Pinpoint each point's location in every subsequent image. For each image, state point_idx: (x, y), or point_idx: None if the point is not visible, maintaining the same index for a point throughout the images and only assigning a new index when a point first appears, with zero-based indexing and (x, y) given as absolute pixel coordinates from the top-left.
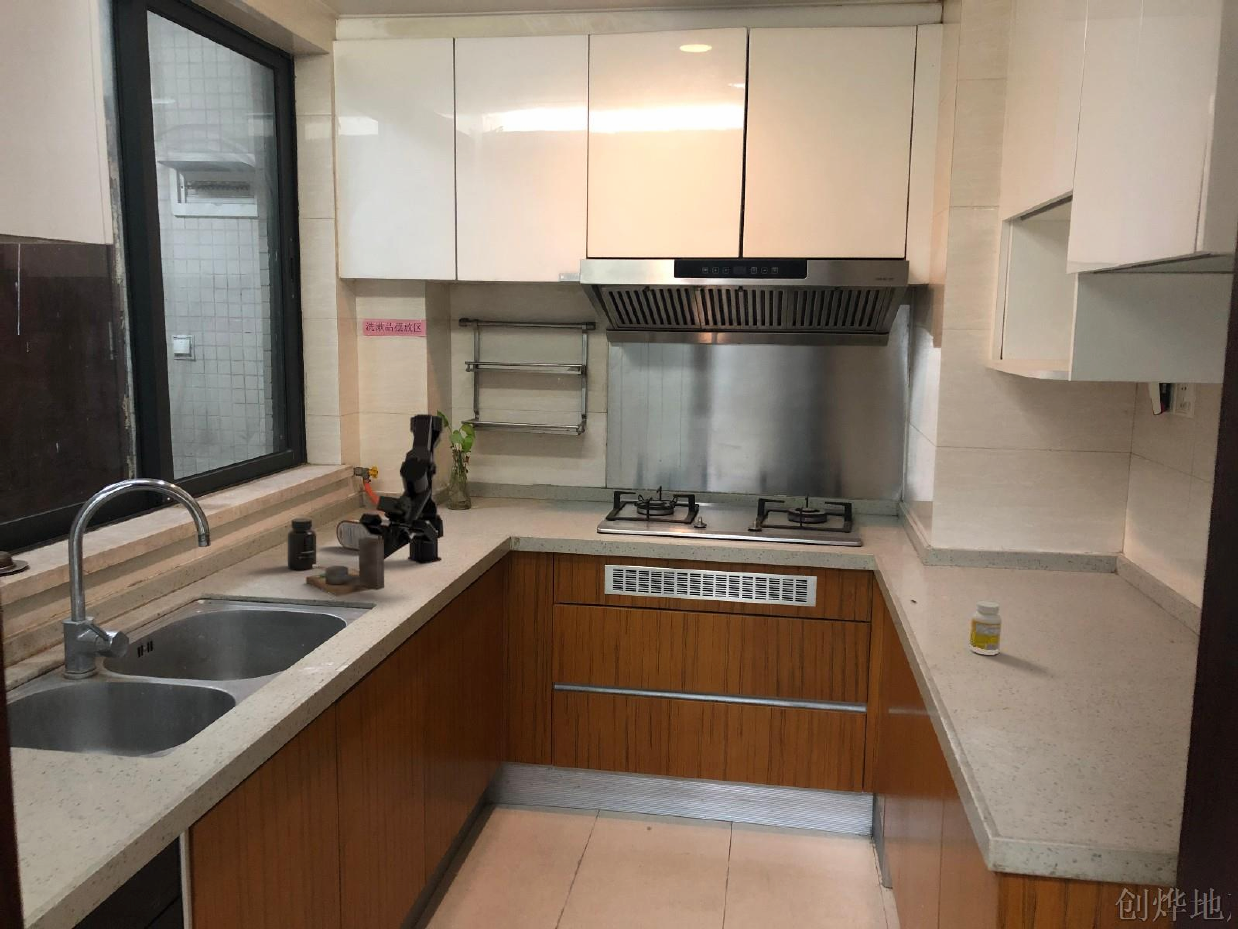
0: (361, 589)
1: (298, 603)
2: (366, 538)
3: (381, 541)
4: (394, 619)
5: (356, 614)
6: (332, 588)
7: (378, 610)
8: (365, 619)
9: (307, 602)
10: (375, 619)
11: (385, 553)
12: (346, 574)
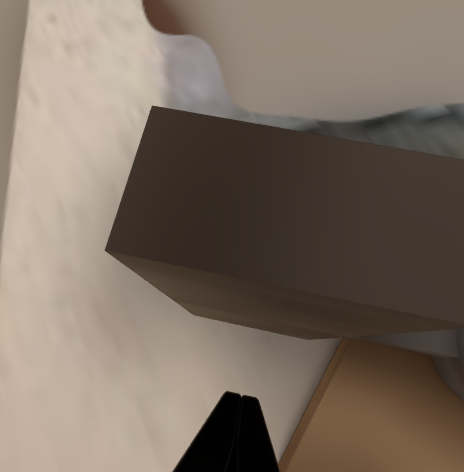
0: (337, 353)
1: (458, 122)
2: (400, 234)
3: (126, 209)
4: (43, 69)
5: (189, 77)
6: None
7: (134, 133)
8: (136, 45)
9: (437, 141)
10: (104, 53)
11: (205, 428)
12: (448, 331)
